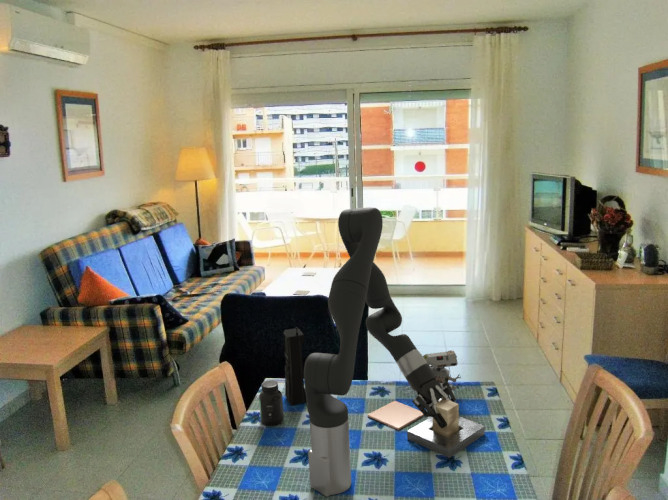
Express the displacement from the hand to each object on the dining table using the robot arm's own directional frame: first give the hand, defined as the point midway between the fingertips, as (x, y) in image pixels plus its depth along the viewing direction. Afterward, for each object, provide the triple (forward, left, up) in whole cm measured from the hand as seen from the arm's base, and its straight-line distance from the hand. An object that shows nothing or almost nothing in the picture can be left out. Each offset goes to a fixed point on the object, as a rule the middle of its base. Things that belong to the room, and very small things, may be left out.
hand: (451, 422), depth 161 cm
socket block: (0, +2, -5) cm, 5 cm away
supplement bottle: (-27, +45, -5) cm, 53 cm away
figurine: (+18, +17, -5) cm, 25 cm away
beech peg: (0, +2, -4) cm, 5 cm away
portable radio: (-13, +51, -5) cm, 53 cm away
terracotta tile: (0, +20, -5) cm, 20 cm away
